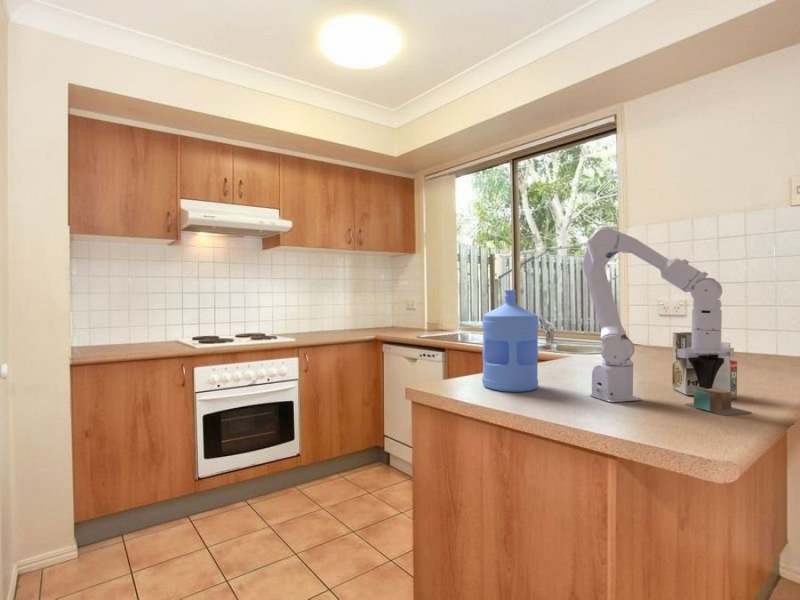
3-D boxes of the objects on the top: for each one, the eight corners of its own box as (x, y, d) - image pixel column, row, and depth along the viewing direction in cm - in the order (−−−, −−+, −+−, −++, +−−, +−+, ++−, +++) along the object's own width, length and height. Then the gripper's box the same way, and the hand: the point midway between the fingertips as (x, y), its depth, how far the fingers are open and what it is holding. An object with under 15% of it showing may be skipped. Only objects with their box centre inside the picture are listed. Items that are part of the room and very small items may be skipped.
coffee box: (712, 396, 118) (713, 334, 118) (685, 395, 119) (686, 334, 119) (696, 389, 127) (696, 331, 127) (671, 388, 128) (671, 331, 128)
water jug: (480, 380, 139) (481, 290, 139) (532, 381, 138) (533, 290, 137) (484, 392, 124) (484, 290, 123) (543, 393, 122) (543, 290, 122)
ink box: (705, 392, 123) (705, 339, 123) (737, 398, 116) (738, 342, 116) (697, 394, 122) (697, 340, 121) (729, 400, 115) (730, 343, 114)
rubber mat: (724, 415, 100) (724, 414, 100) (684, 404, 110) (684, 403, 110) (751, 413, 103) (751, 411, 103) (710, 402, 112) (710, 401, 112)
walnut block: (709, 393, 103) (731, 392, 105) (694, 389, 107) (715, 388, 109) (709, 411, 103) (731, 409, 105) (693, 406, 107) (715, 405, 109)
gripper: (697, 331, 99) (696, 393, 100) (747, 330, 103) (746, 389, 103) (670, 329, 106) (669, 386, 106) (718, 327, 110) (717, 383, 110)
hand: (705, 387), depth 105 cm, fingers closed
